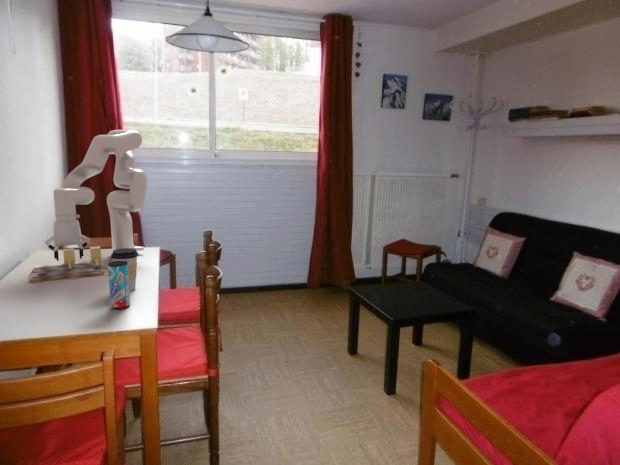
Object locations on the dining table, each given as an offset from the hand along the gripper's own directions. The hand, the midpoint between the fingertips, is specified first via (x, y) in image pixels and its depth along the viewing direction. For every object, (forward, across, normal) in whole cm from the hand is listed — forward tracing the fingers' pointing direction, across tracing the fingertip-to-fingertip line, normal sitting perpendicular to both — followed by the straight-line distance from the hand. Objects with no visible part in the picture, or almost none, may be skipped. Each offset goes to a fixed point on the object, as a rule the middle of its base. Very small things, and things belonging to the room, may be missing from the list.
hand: (69, 258), depth 185 cm
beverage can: (+6, -14, +55) cm, 57 cm away
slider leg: (+3, 0, +3) cm, 4 cm away
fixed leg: (+3, -10, +3) cm, 11 cm away
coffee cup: (+5, -18, +37) cm, 41 cm away
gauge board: (+5, +1, +4) cm, 7 cm away
